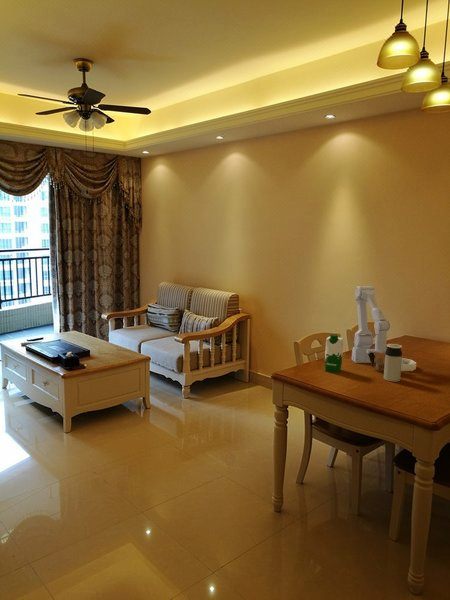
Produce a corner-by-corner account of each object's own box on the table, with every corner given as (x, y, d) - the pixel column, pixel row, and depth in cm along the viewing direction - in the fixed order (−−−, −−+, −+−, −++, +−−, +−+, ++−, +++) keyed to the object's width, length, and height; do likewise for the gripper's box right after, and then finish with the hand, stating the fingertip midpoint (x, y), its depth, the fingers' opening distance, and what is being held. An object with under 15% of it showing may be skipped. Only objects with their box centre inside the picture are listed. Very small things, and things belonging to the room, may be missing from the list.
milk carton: (323, 371, 251) (324, 335, 248) (326, 367, 259) (328, 332, 256) (339, 373, 247) (341, 337, 244) (342, 369, 255) (344, 333, 252)
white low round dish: (419, 370, 255) (419, 364, 255) (394, 370, 254) (395, 364, 254) (407, 363, 269) (408, 357, 269) (384, 363, 268) (384, 357, 268)
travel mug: (403, 381, 236) (405, 347, 233) (388, 382, 235) (391, 347, 232) (394, 377, 244) (397, 343, 241) (380, 377, 242) (383, 343, 240)
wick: (382, 371, 254) (382, 358, 253) (378, 371, 254) (379, 358, 253) (379, 368, 258) (380, 356, 257) (375, 368, 258) (376, 356, 257)
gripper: (370, 343, 249) (368, 368, 251) (396, 343, 250) (395, 368, 252) (365, 340, 256) (364, 364, 258) (391, 340, 257) (389, 364, 259)
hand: (379, 366), depth 256 cm, fingers open, 7 cm apart
